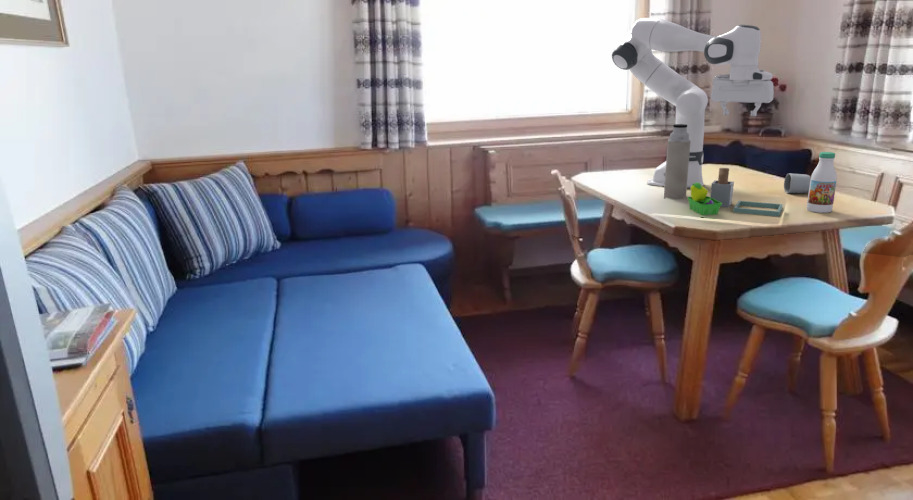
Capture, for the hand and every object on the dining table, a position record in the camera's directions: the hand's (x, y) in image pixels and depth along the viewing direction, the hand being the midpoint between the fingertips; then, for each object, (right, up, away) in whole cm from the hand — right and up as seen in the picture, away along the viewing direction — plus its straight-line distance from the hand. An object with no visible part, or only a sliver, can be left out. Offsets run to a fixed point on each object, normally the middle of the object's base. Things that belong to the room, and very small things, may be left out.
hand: (739, 115), depth 220 cm
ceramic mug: (+32, -25, +24) cm, 48 cm away
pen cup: (-5, -32, +5) cm, 33 cm away
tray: (+4, -34, -5) cm, 35 cm away
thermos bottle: (-16, -28, +19) cm, 37 cm away
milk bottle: (+26, -34, -4) cm, 43 cm away
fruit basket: (-15, -35, -4) cm, 38 cm away
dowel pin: (-5, -31, +4) cm, 32 cm away
